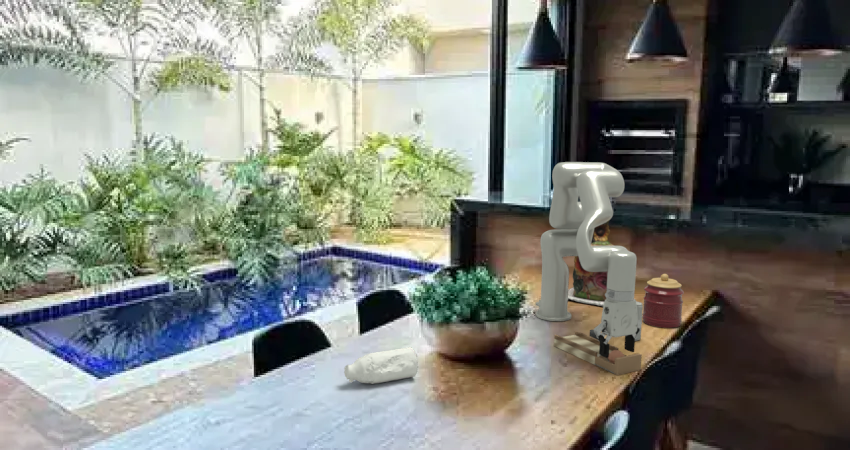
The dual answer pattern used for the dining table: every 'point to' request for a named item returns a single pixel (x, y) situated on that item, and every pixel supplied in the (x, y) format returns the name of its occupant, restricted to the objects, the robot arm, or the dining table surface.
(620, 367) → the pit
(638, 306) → the beverage can
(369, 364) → the white bottle
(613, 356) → the ball
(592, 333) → the tee
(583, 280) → the cookie jar
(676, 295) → the canister
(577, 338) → the lane
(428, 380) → the dining table surface
